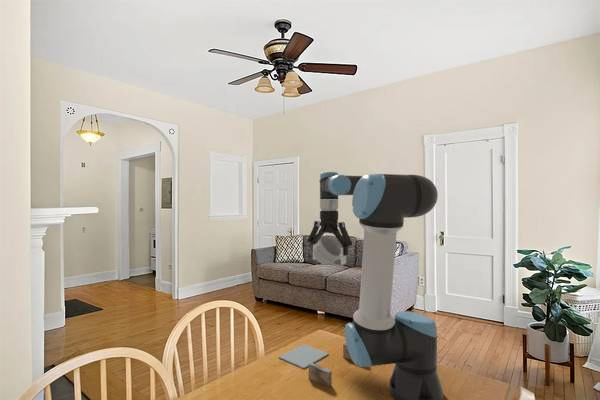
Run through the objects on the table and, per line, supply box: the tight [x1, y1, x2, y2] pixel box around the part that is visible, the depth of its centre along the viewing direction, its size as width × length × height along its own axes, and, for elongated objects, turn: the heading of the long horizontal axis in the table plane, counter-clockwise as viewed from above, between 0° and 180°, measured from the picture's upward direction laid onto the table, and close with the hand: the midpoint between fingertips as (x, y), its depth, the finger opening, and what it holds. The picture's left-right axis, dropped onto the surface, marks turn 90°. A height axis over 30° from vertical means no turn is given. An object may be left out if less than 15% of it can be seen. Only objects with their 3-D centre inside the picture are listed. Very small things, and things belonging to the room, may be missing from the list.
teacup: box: [312, 235, 345, 268], centre depth 137 cm, size 14×11×8 cm
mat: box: [278, 343, 330, 370], centre depth 123 cm, size 12×14×1 cm
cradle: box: [308, 342, 352, 389], centre depth 113 cm, size 8×21×5 cm, turn 138°
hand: (329, 262), depth 138 cm, fingers closed on teacup, 13 cm apart
